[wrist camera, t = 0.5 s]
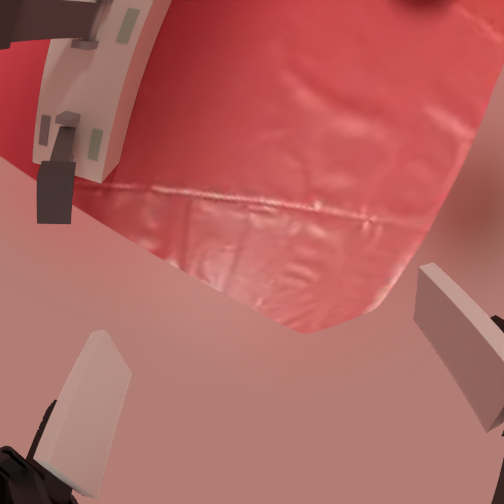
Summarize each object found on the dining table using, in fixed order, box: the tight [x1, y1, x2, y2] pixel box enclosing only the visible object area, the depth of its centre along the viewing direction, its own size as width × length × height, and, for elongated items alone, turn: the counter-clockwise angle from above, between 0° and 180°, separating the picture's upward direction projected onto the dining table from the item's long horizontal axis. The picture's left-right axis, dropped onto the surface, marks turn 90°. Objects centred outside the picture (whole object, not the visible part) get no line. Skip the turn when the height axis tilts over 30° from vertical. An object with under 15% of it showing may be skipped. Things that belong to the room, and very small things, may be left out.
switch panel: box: [33, 0, 172, 184], centre depth 25 cm, size 10×22×8 cm, turn 157°
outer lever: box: [37, 126, 76, 224], centre depth 23 cm, size 3×4×11 cm
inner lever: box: [0, 0, 98, 50], centre depth 14 cm, size 3×4×11 cm
